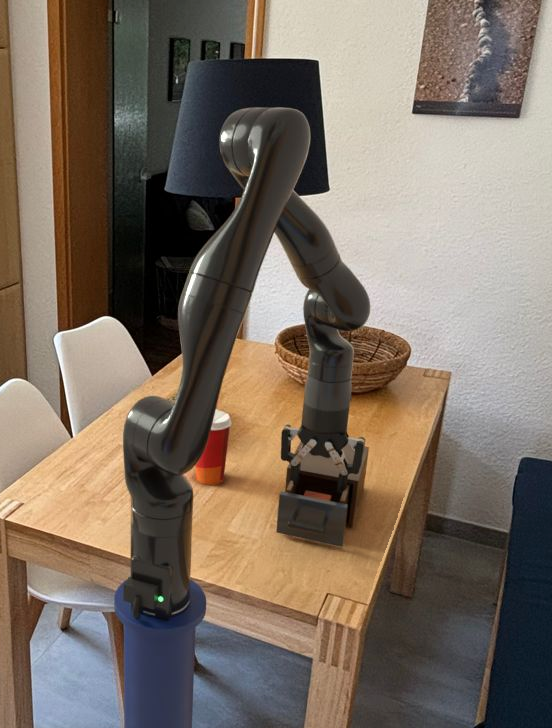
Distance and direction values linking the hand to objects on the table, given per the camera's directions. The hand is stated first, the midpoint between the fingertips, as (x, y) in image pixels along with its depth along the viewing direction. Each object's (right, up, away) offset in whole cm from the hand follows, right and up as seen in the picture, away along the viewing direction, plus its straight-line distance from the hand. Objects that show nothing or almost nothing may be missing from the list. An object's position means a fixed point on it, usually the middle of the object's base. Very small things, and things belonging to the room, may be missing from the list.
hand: (317, 486), depth 135 cm
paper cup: (-16, -1, +22) cm, 27 cm away
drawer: (0, -8, +3) cm, 8 cm away
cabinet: (+5, -5, +13) cm, 14 cm away
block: (0, -6, +3) cm, 7 cm away
